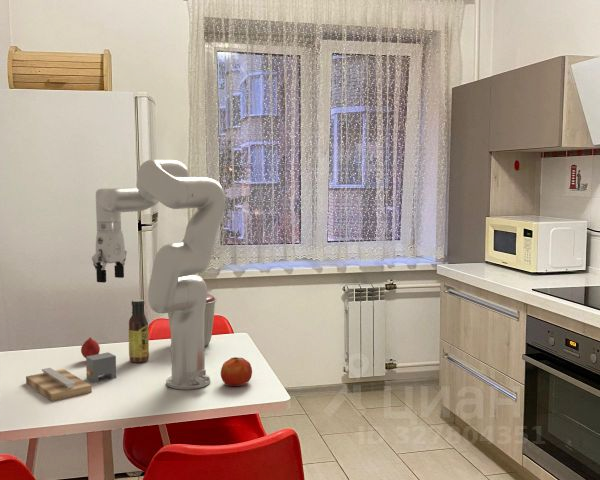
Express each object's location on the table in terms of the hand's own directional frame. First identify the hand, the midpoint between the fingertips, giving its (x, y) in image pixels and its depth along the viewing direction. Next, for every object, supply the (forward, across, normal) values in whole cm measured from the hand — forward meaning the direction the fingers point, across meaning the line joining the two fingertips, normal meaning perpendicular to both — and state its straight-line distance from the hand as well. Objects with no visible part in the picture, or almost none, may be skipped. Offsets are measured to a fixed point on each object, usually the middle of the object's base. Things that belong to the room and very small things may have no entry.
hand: (110, 279), depth 210 cm
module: (+26, -18, -8) cm, 33 cm away
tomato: (+27, -10, -48) cm, 56 cm away
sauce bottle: (+27, +1, -9) cm, 28 cm away
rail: (+24, -29, -2) cm, 38 cm away
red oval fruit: (+26, -4, +6) cm, 27 cm away
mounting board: (+26, -29, -2) cm, 39 cm away
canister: (+27, +24, -16) cm, 39 cm away
